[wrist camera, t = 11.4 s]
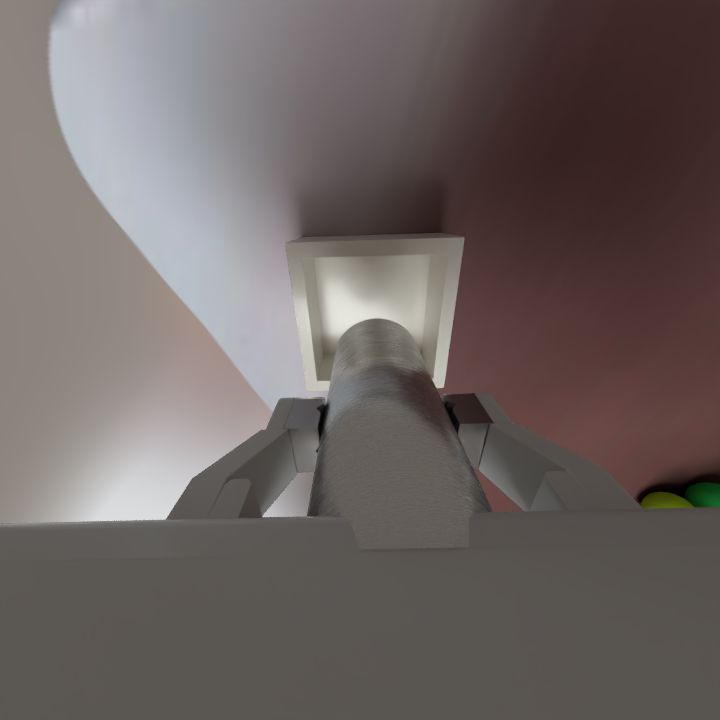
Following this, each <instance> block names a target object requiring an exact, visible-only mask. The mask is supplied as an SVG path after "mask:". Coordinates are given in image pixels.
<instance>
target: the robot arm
mask: <svg viewBox="0 0 720 720" xmlns="http://www.w3.org/2000/svg"><path fill="white" fill-rule="evenodd" d="M441 399H442V402H443V404H444V406H445V408H446V410H447V412H448V415H449V417H450V419H451V421H452V423H453V426H454V428H455V430H456V432H457V434H458V437H459V439H460V441H461V443H462V445H463V448H464V450H465V452H466V454H467V456H468V458H469V461H470V463H471V465H472V467H473V468H479V470H480V471H481V472H482V473H483V474H484V475H485V476H486V477H487V478H488V479H490V480H491V481H492V482H493V483H494V484H495V485H496V486H497V487H498V488H499V489H501V490H502V491H503V492H504V493H505V494H506V495H507V496H508V497H509V498H510V499H512V500H513V501H514V502H515V503H516V504H517V505H518V506H519V507H520V508H521V509H523V510H524V511H520V512H478V513H474V514H473V515H471V517H470V519H469V547H454V548H409V549H364V550H361V549H360V547H359V544H358V542H357V539H356V537H355V534H354V532H353V529H352V527H351V524H350V522H349V521H348V520H347V519H345V518H344V517H341V516H306V517H266V518H265V517H264V518H263V517H262V516H263V514H264V513H265V512H266V511H267V509H268V508H269V507H270V506H271V505H272V504H273V502H274V501H275V500H276V499H277V498H278V497H279V495H280V494H281V493H282V492H283V491H284V489H285V488H286V487H287V486H288V485H289V483H290V482H291V481H292V480H293V479H294V477H295V476H296V475H297V473H302V472H315V467H316V461H317V455H318V449H319V443H320V437H321V432H322V426H323V420H324V414H325V408H326V401H325V398H324V397H307V398H281V399H279V401H278V403H277V405H276V407H275V410H274V412H273V414H272V417H271V419H270V421H269V423H268V426H267V428H266V430H260V431H259V432H258V433H256V434H255V435H253V436H252V437H250V438H249V439H248V440H246V441H245V442H243V443H242V444H241V445H239V446H238V447H236V448H235V449H234V450H232V451H231V452H229V453H228V454H226V455H225V456H224V457H222V458H221V459H219V460H218V461H217V462H215V463H214V464H212V465H211V466H209V467H208V468H207V469H205V470H204V471H202V472H201V473H199V474H198V475H197V476H195V477H194V478H192V480H191V481H190V483H189V485H188V486H187V487H186V489H185V491H184V492H183V494H182V495H181V497H180V498H179V500H178V502H177V503H176V505H175V506H174V508H173V510H172V511H171V512H170V514H169V516H168V517H167V519H166V520H138V521H137V520H135V521H95V522H94V521H93V522H54V523H53V522H52V523H8V524H0V720H720V507H692V508H649V509H643V508H642V507H641V506H640V505H639V504H638V503H637V502H636V501H635V500H634V499H633V498H632V497H631V496H630V495H629V494H628V493H627V492H626V491H625V490H624V489H623V488H622V487H621V486H620V485H619V484H618V483H617V482H616V481H615V479H614V478H613V477H612V476H611V475H610V474H609V473H608V472H607V471H606V470H605V469H603V468H601V467H600V466H598V465H596V464H594V463H592V462H590V461H588V460H586V459H584V458H582V457H581V456H579V455H577V454H575V453H573V452H571V451H569V450H567V449H565V448H564V447H562V446H560V445H558V444H556V443H554V442H552V441H550V440H548V439H546V438H545V437H543V436H541V435H539V434H537V433H535V432H533V431H531V430H529V429H528V428H526V427H524V426H522V425H520V424H518V423H512V422H511V421H510V419H509V418H508V417H507V415H506V414H505V413H504V411H503V410H502V409H501V407H500V406H499V405H498V403H497V402H496V401H495V399H494V398H493V397H492V396H491V394H490V393H488V392H480V393H468V394H443V395H442V397H441Z"/></svg>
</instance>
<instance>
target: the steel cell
mask: <svg viewBox="0 0 720 720" xmlns="http://www.w3.org/2000/svg"><path fill="white" fill-rule="evenodd" d="M478 512H493V511H492V509H491V507H490V504H489V502H488V500H487V498H486V496H485V493H484V491H483V489H482V487H481V485H480V483H479V480H478V478H477V476H476V474H475V472H474V469H473V467H472V465H471V463H470V461H469V458H468V456H467V454H466V452H465V450H464V448H463V445H462V443H461V441H460V439H459V437H458V434H457V432H456V430H455V428H454V426H453V423H452V421H451V419H450V417H449V415H448V412H447V410H446V408H445V406H444V404H443V402H442V399H441V397H440V395H439V393H438V391H437V388H436V386H435V384H434V382H433V380H432V377H431V375H430V373H429V371H428V369H427V367H426V364H425V362H424V360H423V358H422V356H421V353H420V351H419V349H418V347H417V345H416V342H415V340H414V338H413V337H412V335H411V334H410V332H409V331H408V330H407V329H406V328H404V327H403V326H402V325H400V324H398V323H396V322H394V321H391V320H388V319H382V318H374V319H367V320H364V321H361V322H358V323H356V324H354V325H353V326H351V327H350V328H349V329H348V330H346V331H345V333H344V334H343V335H342V336H341V338H340V339H339V341H338V344H337V346H336V350H335V356H334V362H333V368H332V374H331V379H330V385H329V391H328V397H327V403H326V408H325V414H324V420H323V426H322V432H321V437H320V443H319V449H318V455H317V461H316V467H315V472H314V478H313V484H312V490H311V496H310V502H309V508H308V514H307V516H341V517H344V518H345V519H347V520H348V521H349V522H350V524H351V527H352V529H353V532H354V534H355V537H356V539H357V542H358V544H359V547H360V549H361V550H364V549H409V548H454V547H469V519H470V517H471V515H473V514H474V513H478Z"/></svg>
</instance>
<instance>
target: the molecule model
mask: <svg viewBox="0 0 720 720" xmlns="http://www.w3.org/2000/svg"><path fill="white" fill-rule="evenodd" d="M641 507H642V508H643V509H649V508H692V507H720V484H716V483H710V482H702V483H696V484H693V485H691V486H690V487H689V488H688V489H687V490H686V491H685V495H684V498H682V497H680V496H678V495H675V494H672V493H668V492H653V493H650V494H648V495H647V496H645V497H644V498H643V500H642V502H641Z"/></svg>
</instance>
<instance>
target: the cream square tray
mask: <svg viewBox="0 0 720 720" xmlns="http://www.w3.org/2000/svg"><path fill="white" fill-rule="evenodd" d="M464 239H465V237H461V236H456V235H451V234H446V233H419V234H387V235H355V236H323V237H300V238H298V239H295V240H292V241H289V242H286V243H285V245H286V252H287V259H288V266H289V273H290V280H291V286H292V293H293V300H294V307H295V314H296V321H297V328H298V334H299V341H300V348H301V355H302V362H303V369H304V376H305V382H306V389H307V391H329V385H330V379H331V374H332V368H333V362H334V356H335V350H336V346H337V344H338V341H339V339H340V338H341V336H342V335H343V334H344V333H345V331H346V330H348V329H349V328H350V327H351V326H353V325H354V324H356V323H358V322H361V321H364V320H367V319H374V318H382V319H388V320H391V321H394V322H396V323H398V324H400V325H402V326H403V327H404V328H406V329H407V330H408V331H409V332H410V334H411V335H412V337H413V338H414V340H415V342H416V345H417V347H418V349H419V351H420V353H421V356H422V358H423V360H424V362H425V364H426V367H427V369H428V371H429V373H430V375H431V377H432V380H433V382H434V384H435V386H436V388H444V382H445V375H446V368H447V361H448V353H449V346H450V339H451V332H452V325H453V318H454V310H455V303H456V296H457V289H458V282H459V275H460V268H461V260H462V253H463V246H464Z"/></svg>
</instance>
